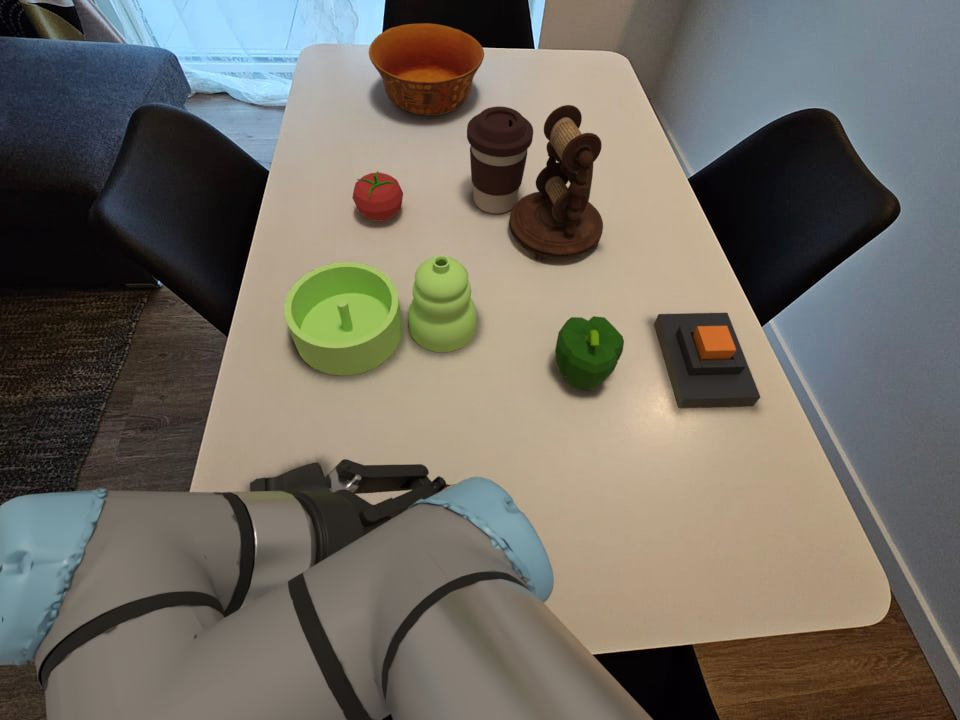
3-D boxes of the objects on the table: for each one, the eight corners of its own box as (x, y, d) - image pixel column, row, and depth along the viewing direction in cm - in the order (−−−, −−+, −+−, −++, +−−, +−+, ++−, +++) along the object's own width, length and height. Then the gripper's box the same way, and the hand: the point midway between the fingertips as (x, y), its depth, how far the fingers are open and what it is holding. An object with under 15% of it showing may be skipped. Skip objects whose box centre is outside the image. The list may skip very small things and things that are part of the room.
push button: (753, 405, 74) (767, 389, 71) (678, 408, 74) (689, 391, 70) (721, 322, 82) (732, 304, 79) (653, 323, 82) (662, 305, 78)
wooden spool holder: (615, 255, 89) (650, 142, 73) (527, 274, 86) (543, 161, 70) (577, 196, 97) (602, 82, 81) (496, 211, 94) (504, 96, 78)
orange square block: (730, 359, 74) (736, 350, 72) (700, 360, 74) (706, 350, 72) (721, 335, 76) (727, 325, 75) (692, 335, 76) (697, 326, 74)
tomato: (348, 223, 91) (340, 184, 85) (366, 193, 96) (360, 154, 89) (395, 234, 90) (390, 195, 84) (411, 203, 95) (408, 164, 88)
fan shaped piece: (275, 604, 58) (270, 600, 57) (250, 488, 65) (246, 482, 64) (354, 572, 60) (351, 567, 59) (322, 462, 67) (319, 456, 66)
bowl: (492, 81, 117) (495, 30, 109) (467, 140, 105) (468, 88, 97) (395, 65, 119) (390, 14, 111) (360, 122, 107) (352, 69, 99)
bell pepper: (563, 338, 79) (576, 290, 71) (619, 361, 77) (638, 315, 69) (539, 382, 75) (549, 336, 67) (597, 408, 73) (615, 364, 65)
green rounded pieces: (291, 379, 74) (265, 318, 64) (298, 295, 82) (276, 229, 72) (482, 365, 76) (486, 303, 66) (470, 284, 85) (472, 219, 74)
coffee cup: (453, 204, 95) (453, 121, 82) (487, 174, 100) (492, 92, 87) (503, 228, 92) (510, 147, 80) (535, 196, 97) (547, 115, 84)
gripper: (227, 462, 43) (433, 471, 61) (289, 728, 34) (513, 647, 52) (279, 402, 41) (479, 429, 58) (363, 674, 31) (573, 607, 49)
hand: (495, 531), depth 55 cm, fingers closed on bottle, 6 cm apart
